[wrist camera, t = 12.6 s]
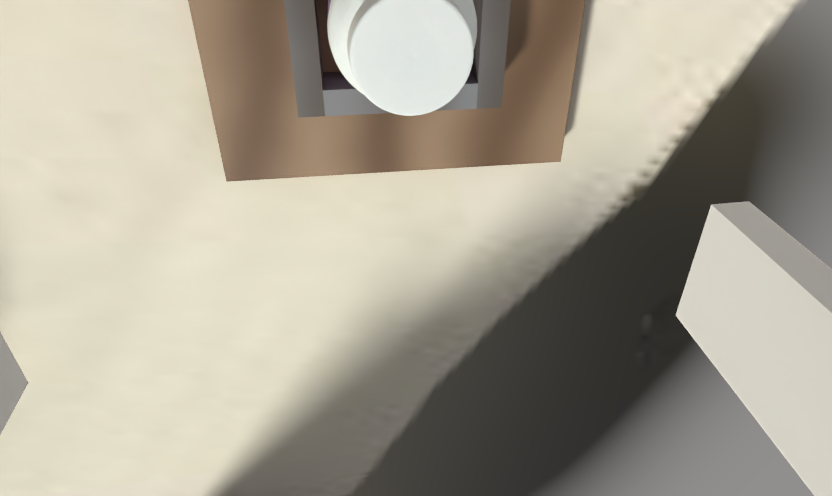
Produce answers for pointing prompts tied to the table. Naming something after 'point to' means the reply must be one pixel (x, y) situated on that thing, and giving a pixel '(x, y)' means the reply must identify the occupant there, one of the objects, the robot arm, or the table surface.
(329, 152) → the socket block
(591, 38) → the table surface
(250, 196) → the table surface
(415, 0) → the pill bottle
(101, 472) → the table surface
